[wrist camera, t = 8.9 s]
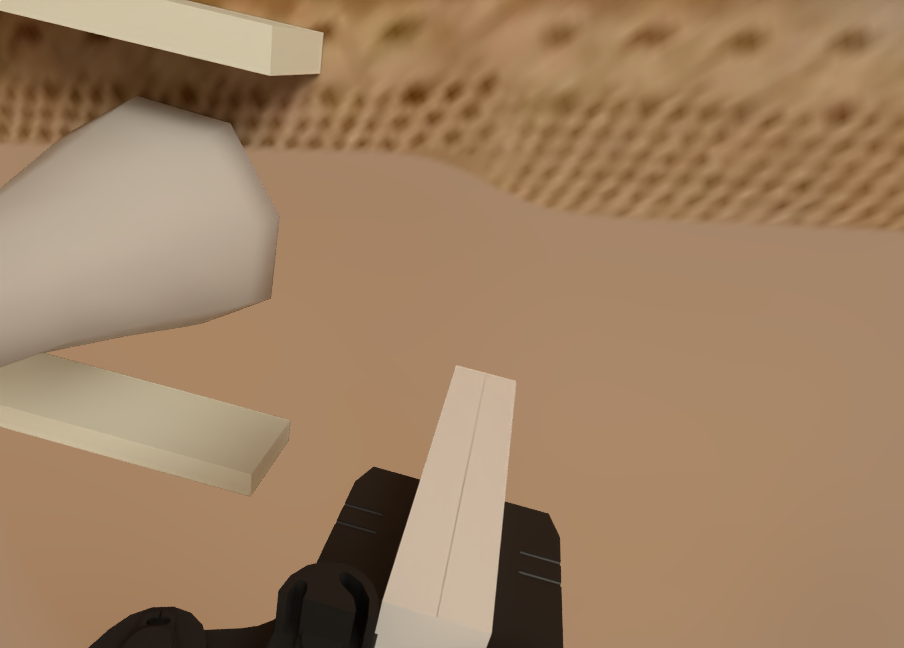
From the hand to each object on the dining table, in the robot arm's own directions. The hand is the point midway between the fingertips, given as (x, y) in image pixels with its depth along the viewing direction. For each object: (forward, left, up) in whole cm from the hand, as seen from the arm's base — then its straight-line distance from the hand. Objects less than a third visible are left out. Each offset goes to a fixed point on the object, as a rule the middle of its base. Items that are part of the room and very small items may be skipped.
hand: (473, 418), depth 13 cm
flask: (+1, +11, -5) cm, 12 cm away
